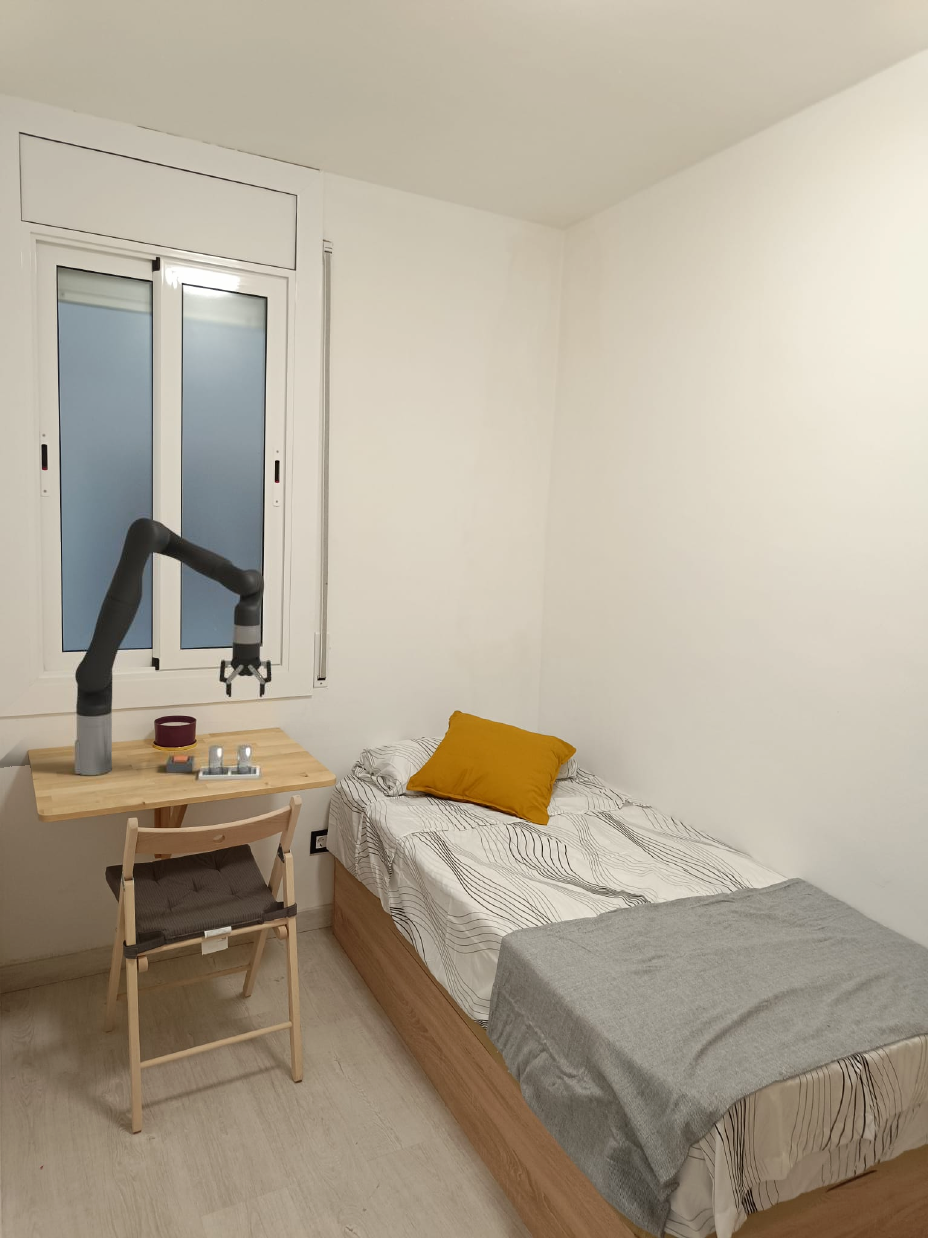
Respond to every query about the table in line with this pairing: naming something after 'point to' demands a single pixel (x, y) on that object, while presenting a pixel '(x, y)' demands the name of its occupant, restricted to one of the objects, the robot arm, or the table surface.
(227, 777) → the white divided tray
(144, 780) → the table surface
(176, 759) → the button
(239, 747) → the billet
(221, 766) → the cylinder
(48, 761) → the table surface
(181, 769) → the button housing
